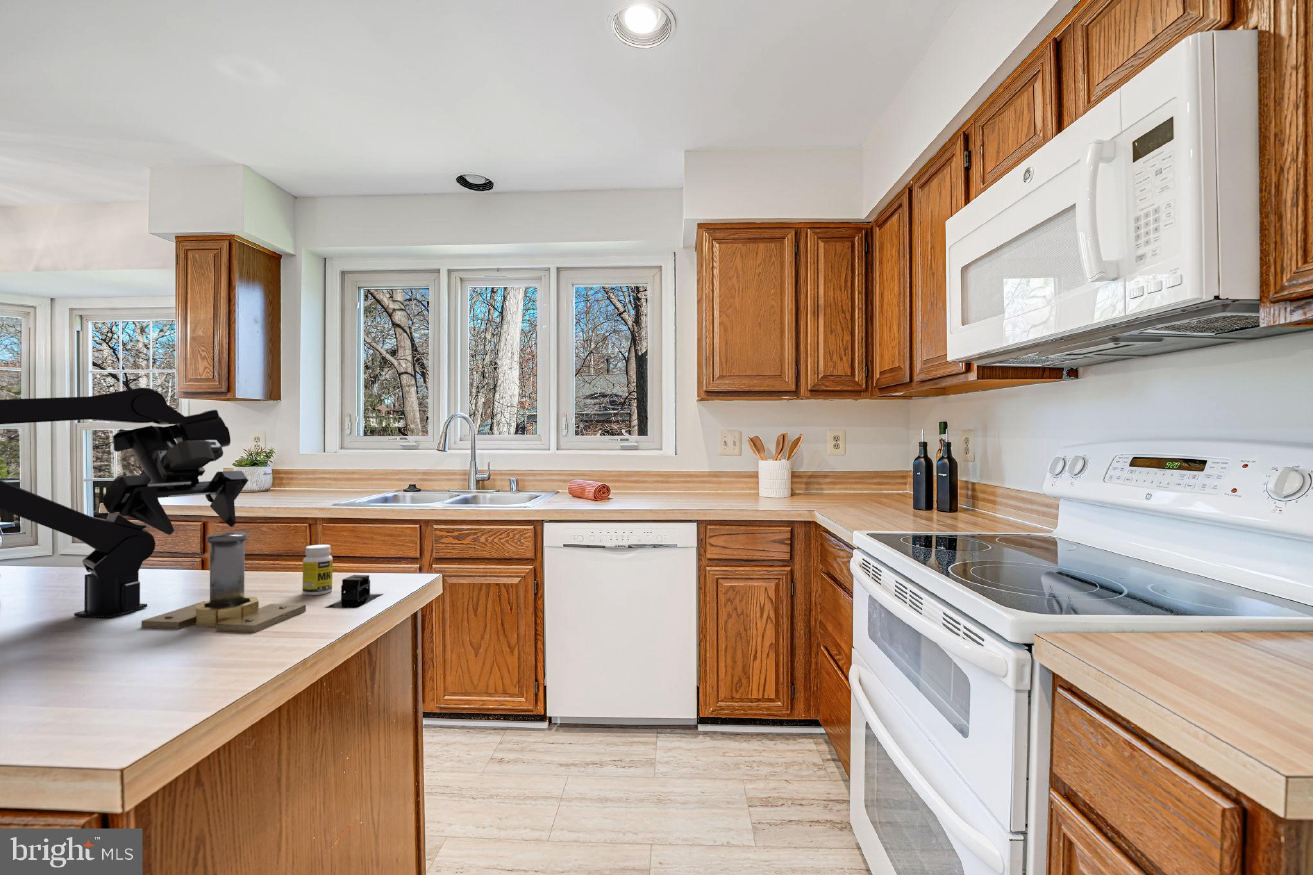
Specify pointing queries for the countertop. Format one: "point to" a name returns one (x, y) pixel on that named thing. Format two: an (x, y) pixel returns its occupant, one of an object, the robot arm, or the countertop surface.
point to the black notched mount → (354, 592)
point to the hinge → (226, 616)
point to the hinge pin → (227, 569)
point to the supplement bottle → (317, 570)
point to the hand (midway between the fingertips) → (203, 528)
